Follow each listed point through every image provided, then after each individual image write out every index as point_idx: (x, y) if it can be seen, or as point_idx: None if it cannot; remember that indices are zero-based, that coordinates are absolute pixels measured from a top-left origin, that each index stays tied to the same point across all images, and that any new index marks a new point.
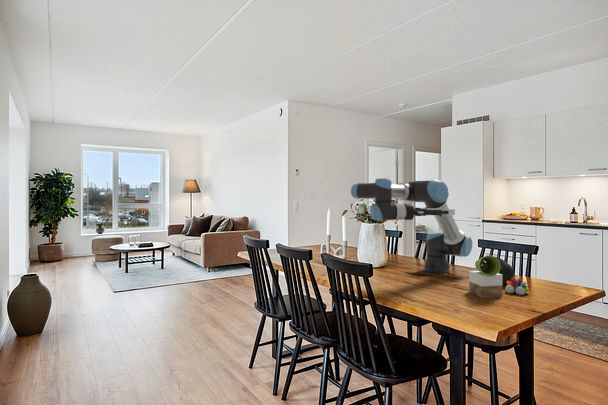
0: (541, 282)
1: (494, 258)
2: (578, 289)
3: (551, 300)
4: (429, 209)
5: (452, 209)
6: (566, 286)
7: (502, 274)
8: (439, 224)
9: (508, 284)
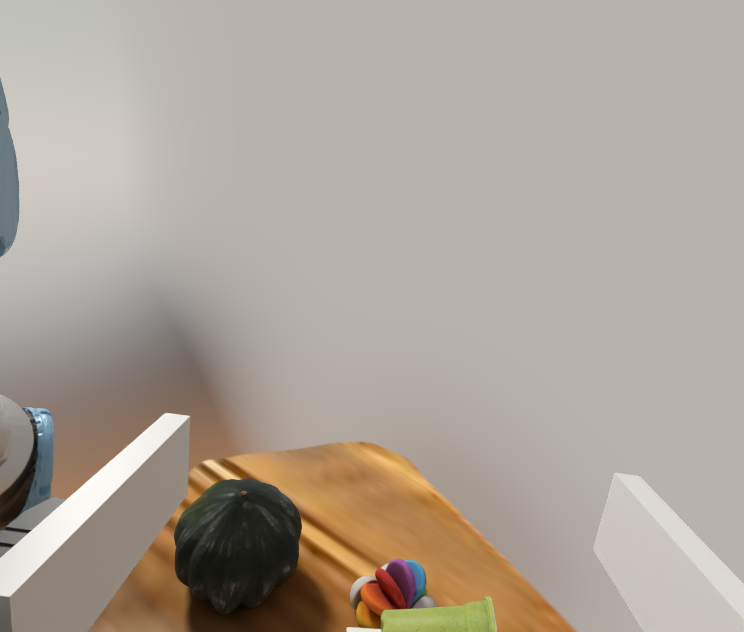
0: (280, 469)
1: (480, 603)
2: (369, 458)
3: (489, 584)
4: (30, 601)
5: (661, 500)
6: (337, 457)
7: (296, 555)
8: None
9: None
